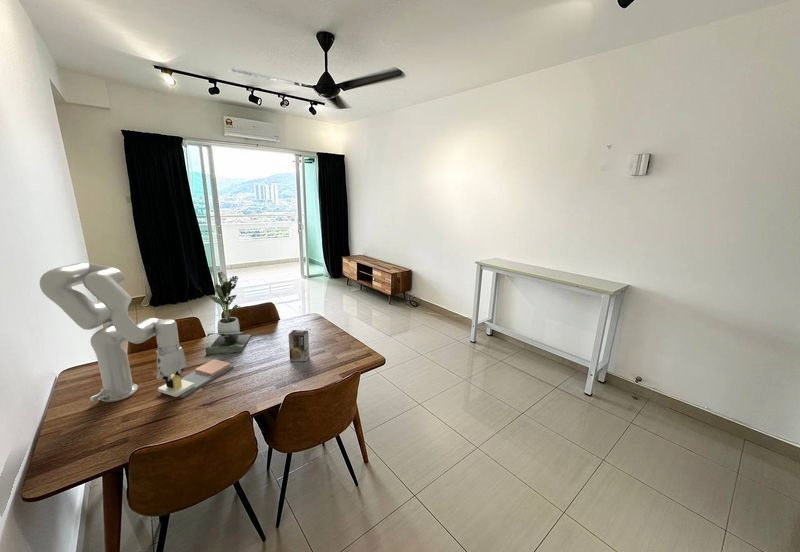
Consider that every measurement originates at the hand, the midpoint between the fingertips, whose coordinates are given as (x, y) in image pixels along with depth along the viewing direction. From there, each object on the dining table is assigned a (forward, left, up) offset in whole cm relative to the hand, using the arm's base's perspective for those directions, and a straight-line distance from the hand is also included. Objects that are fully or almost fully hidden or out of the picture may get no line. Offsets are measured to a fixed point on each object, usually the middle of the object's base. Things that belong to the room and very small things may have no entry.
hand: (174, 384), depth 142 cm
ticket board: (+12, 0, -4) cm, 13 cm away
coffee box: (+47, -32, -4) cm, 57 cm away
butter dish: (+1, 0, -3) cm, 3 cm away
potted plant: (+45, +16, -4) cm, 48 cm away
